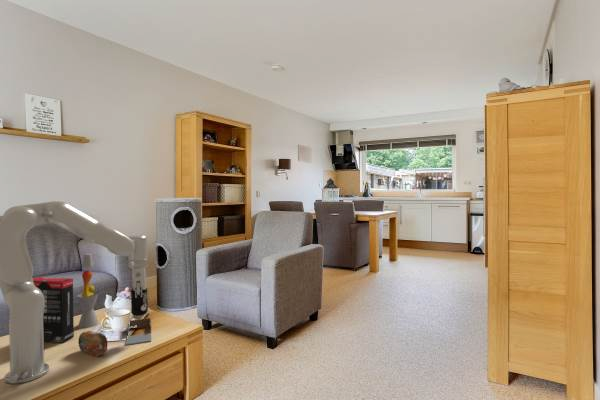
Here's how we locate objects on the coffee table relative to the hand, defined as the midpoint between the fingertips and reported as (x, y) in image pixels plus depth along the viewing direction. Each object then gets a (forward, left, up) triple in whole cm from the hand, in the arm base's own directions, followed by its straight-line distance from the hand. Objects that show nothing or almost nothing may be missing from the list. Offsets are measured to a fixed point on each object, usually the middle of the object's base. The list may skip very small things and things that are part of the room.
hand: (139, 303), depth 153 cm
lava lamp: (+29, +24, -16) cm, 41 cm away
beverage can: (0, 0, -5) cm, 5 cm away
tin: (-7, +17, -16) cm, 25 cm away
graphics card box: (+15, +36, -16) cm, 42 cm away
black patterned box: (+10, 0, -16) cm, 19 cm away
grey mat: (0, 0, -16) cm, 16 cm away
